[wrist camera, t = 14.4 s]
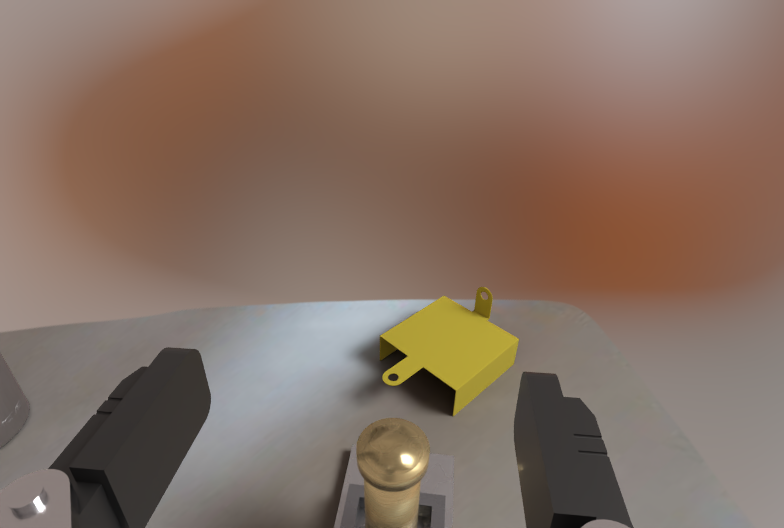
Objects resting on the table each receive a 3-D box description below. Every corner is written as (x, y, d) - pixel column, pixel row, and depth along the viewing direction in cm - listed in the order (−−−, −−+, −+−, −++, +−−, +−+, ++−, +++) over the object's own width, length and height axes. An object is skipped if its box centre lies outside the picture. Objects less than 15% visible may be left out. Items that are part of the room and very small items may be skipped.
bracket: (332, 314, 49) (432, 259, 57) (336, 370, 53) (428, 311, 62) (451, 403, 39) (549, 321, 48) (444, 462, 44) (535, 377, 52)
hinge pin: (355, 578, 34) (349, 476, 28) (366, 517, 38) (363, 414, 31) (418, 587, 34) (427, 486, 27) (422, 524, 37) (431, 422, 31)
